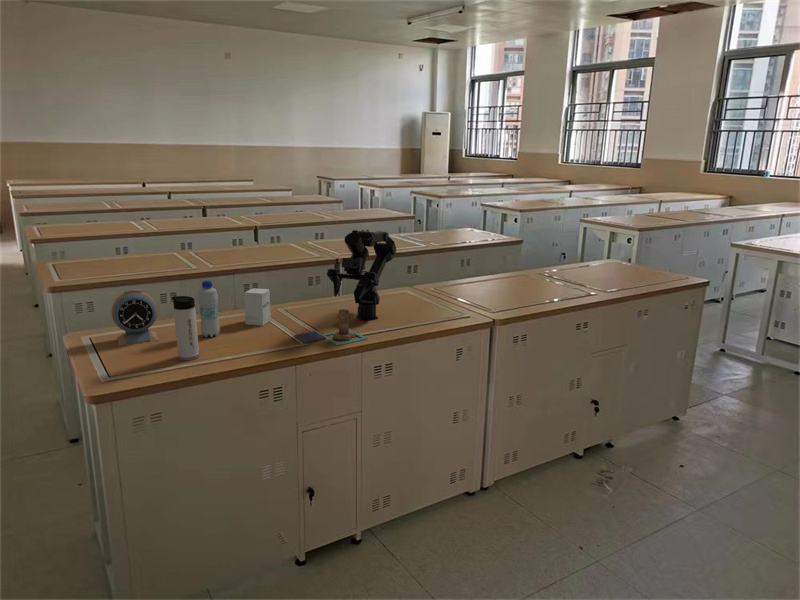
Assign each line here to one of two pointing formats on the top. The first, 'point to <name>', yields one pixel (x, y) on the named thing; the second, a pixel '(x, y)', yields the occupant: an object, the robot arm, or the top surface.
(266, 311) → the supplement box
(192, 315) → the travel mug
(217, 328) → the bottle
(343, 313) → the stamp
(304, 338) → the ink pad
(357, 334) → the frame
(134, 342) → the alarm clock
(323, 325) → the top surface
